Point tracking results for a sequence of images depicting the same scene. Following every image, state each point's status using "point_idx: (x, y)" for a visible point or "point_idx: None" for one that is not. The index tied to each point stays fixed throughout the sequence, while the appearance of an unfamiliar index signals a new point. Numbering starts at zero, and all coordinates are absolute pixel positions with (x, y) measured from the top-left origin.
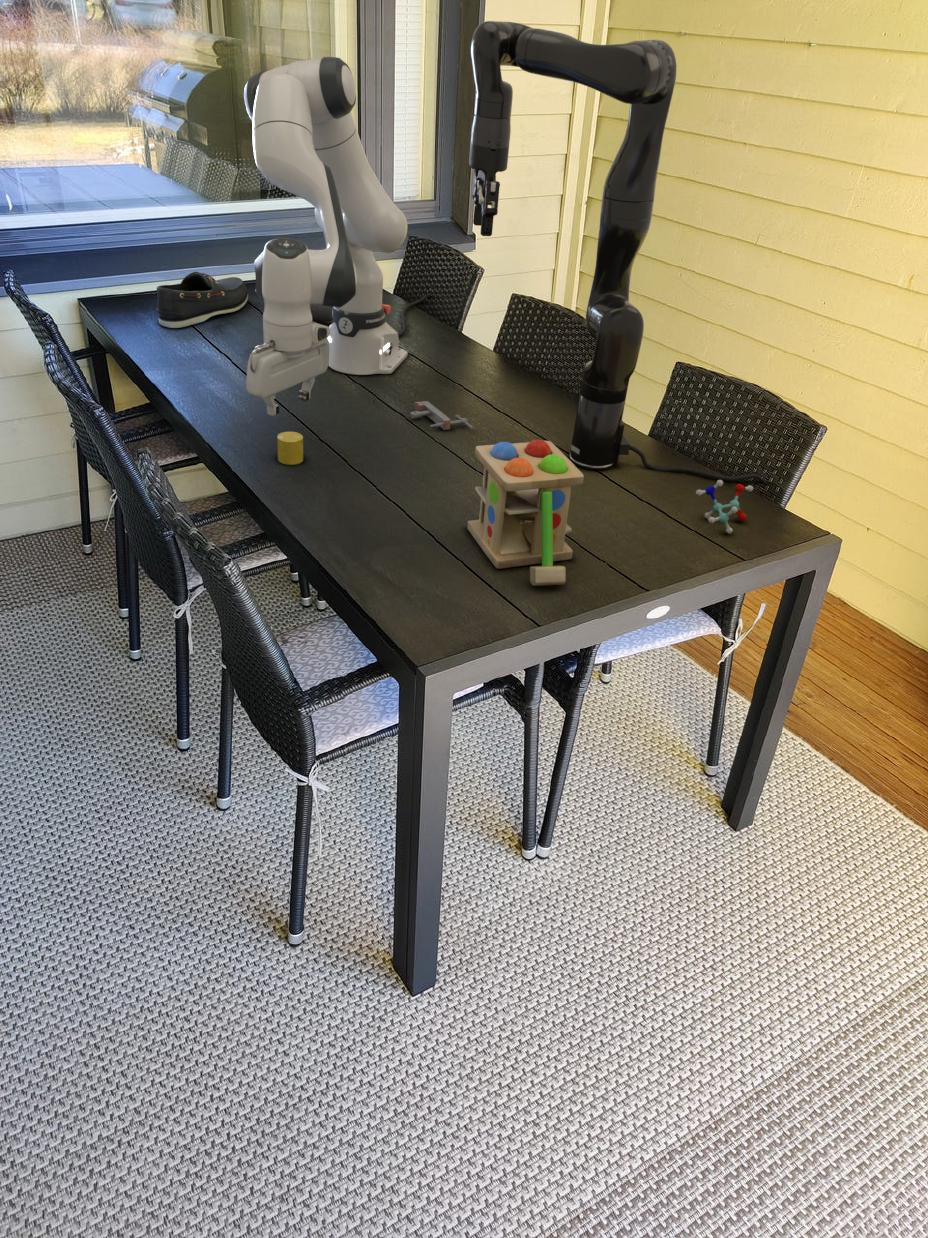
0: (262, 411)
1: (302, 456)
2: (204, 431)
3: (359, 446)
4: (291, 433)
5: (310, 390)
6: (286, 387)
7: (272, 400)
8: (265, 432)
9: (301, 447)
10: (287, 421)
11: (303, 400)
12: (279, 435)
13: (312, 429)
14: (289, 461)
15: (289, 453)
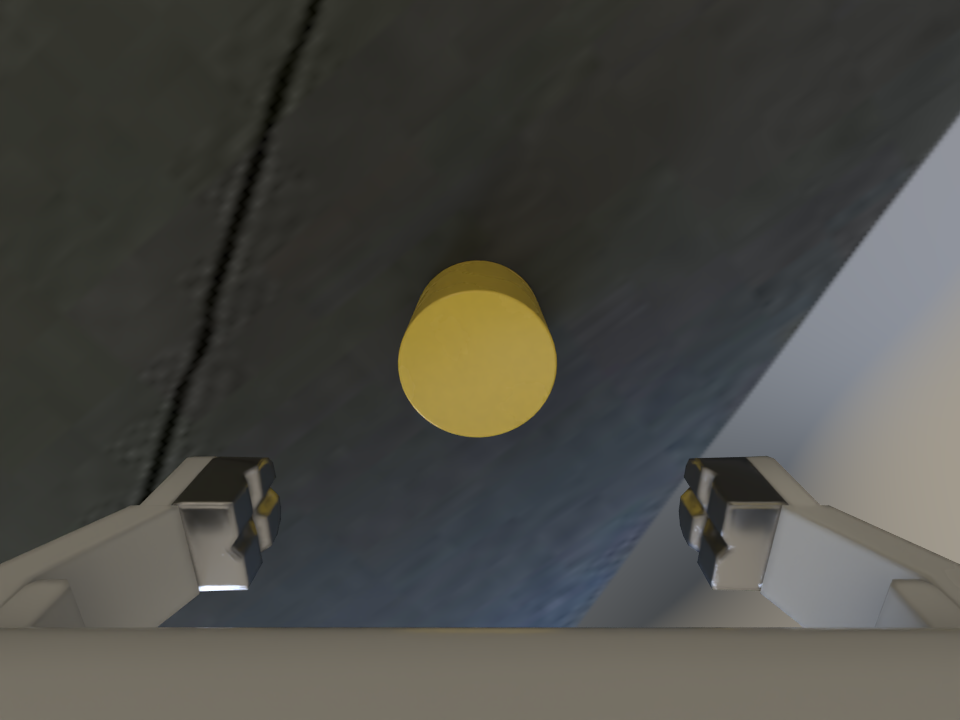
0: None
1: (456, 268)
2: None
3: (82, 136)
4: (435, 390)
5: (140, 508)
6: (787, 646)
7: (946, 569)
8: (337, 560)
9: (466, 278)
10: None
11: (275, 477)
12: (505, 422)
13: (149, 445)
14: (532, 292)
15: (536, 304)
